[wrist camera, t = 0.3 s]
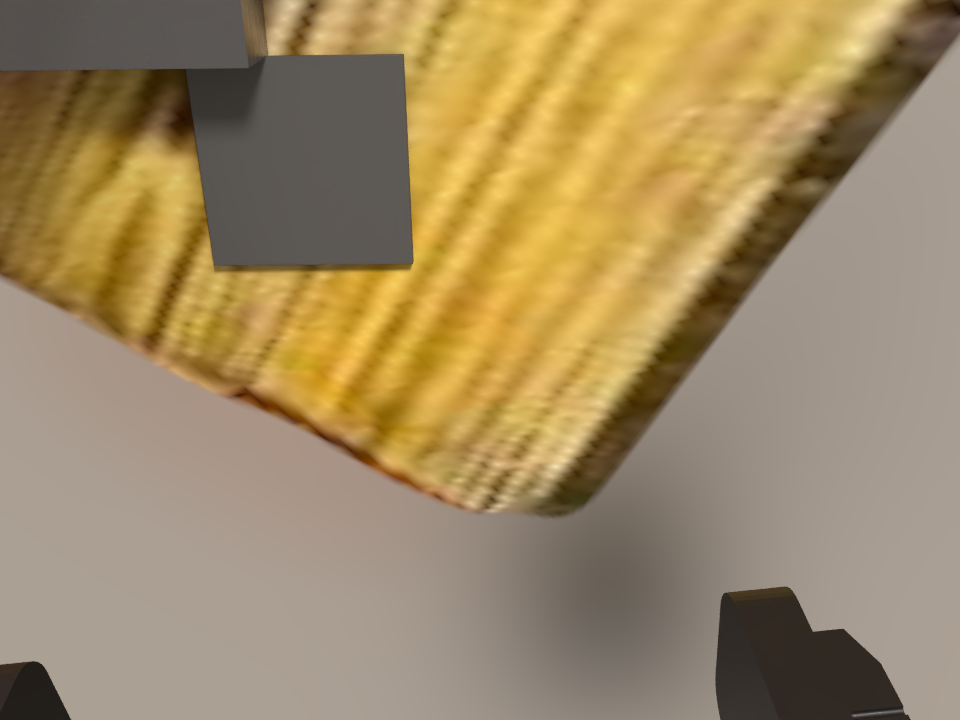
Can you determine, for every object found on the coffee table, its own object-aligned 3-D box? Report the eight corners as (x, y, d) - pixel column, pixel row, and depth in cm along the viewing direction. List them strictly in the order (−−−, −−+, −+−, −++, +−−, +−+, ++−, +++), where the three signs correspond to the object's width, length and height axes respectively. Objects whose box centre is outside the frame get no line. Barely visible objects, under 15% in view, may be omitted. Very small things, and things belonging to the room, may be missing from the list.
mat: (187, 56, 34) (183, 58, 34) (403, 54, 34) (402, 55, 33) (216, 261, 37) (214, 265, 37) (413, 260, 37) (412, 263, 37)
